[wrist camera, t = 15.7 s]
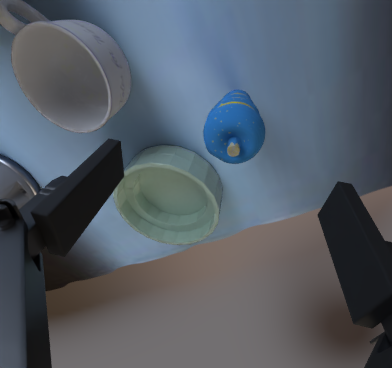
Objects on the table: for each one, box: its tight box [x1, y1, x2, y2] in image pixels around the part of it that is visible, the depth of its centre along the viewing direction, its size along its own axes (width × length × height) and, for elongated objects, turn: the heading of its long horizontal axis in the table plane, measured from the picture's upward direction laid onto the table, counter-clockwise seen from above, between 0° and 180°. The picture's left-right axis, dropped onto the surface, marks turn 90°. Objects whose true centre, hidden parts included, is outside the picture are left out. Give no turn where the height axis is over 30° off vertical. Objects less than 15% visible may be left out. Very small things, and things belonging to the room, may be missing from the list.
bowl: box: [113, 145, 223, 245], centre depth 37 cm, size 16×16×6 cm
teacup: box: [0, 0, 131, 133], centre depth 26 cm, size 14×11×8 cm
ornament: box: [203, 90, 265, 164], centre depth 22 cm, size 5×5×15 cm
